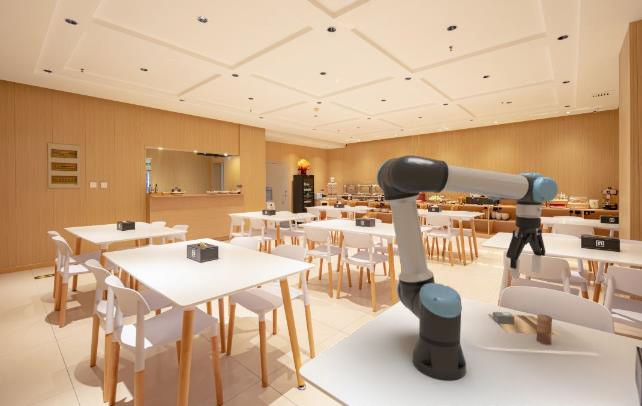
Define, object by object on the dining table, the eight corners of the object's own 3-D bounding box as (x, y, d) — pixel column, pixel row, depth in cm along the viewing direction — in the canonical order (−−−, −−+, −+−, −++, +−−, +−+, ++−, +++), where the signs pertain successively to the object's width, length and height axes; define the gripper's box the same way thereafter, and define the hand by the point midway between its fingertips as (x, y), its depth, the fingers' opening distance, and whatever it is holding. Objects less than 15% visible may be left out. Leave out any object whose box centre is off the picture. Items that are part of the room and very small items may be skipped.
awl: (540, 348, 102) (542, 319, 102) (533, 342, 106) (534, 314, 106) (553, 348, 102) (555, 319, 101) (545, 342, 106) (547, 314, 105)
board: (506, 335, 111) (506, 332, 111) (487, 316, 127) (487, 313, 127) (559, 338, 109) (559, 334, 109) (532, 318, 125) (533, 315, 125)
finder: (497, 323, 118) (497, 315, 117) (492, 319, 122) (493, 311, 121) (513, 324, 117) (514, 316, 117) (508, 319, 121) (508, 312, 121)
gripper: (518, 218, 100) (515, 282, 101) (558, 216, 111) (555, 273, 112) (496, 216, 106) (493, 276, 108) (536, 214, 118) (533, 268, 119)
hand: (525, 275), depth 110 cm, fingers open, 13 cm apart
